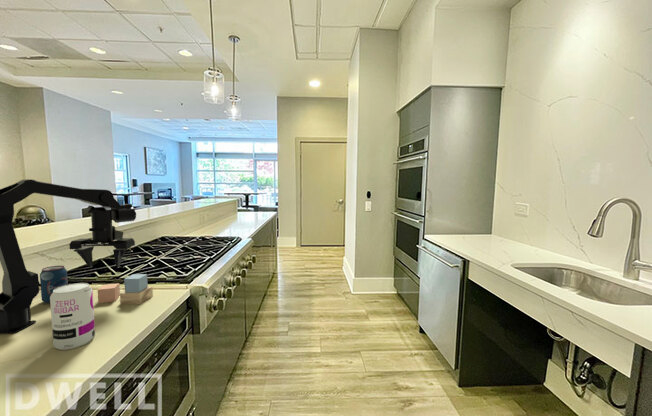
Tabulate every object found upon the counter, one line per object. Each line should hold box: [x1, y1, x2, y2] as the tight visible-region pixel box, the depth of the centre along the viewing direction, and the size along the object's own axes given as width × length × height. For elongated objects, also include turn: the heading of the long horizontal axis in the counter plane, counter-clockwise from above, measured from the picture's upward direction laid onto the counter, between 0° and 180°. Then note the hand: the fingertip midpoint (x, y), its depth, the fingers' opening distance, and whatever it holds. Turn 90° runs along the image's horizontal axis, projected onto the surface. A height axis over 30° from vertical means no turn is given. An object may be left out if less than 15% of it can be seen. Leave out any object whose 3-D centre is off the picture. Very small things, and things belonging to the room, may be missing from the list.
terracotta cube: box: [97, 283, 121, 304], centre depth 101 cm, size 5×5×5 cm
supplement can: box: [49, 282, 96, 351], centre depth 73 cm, size 8×8×15 cm
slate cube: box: [123, 273, 149, 293], centre depth 101 cm, size 5×5×5 cm
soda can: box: [39, 265, 69, 304], centre depth 99 cm, size 7×7×12 cm
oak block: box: [119, 285, 154, 305], centre depth 101 cm, size 7×7×4 cm
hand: (104, 266), depth 101 cm, fingers open, 9 cm apart
